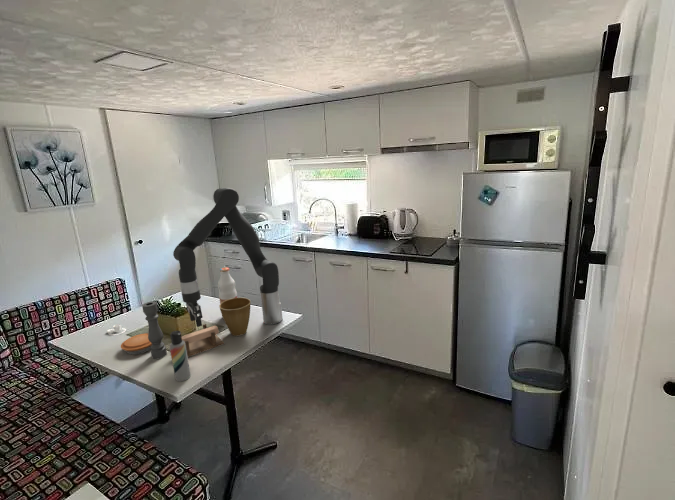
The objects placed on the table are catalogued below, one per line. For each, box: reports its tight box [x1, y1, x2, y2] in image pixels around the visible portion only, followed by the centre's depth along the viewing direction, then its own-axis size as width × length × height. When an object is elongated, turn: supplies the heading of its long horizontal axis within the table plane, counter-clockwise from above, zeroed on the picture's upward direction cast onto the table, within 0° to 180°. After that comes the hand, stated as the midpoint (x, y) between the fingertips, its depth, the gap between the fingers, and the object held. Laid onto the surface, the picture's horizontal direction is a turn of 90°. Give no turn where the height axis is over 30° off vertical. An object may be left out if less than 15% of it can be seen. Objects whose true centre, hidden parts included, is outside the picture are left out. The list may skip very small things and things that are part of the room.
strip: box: [181, 325, 220, 343], centre depth 165 cm, size 18×4×3 cm, turn 129°
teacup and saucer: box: [106, 323, 127, 336], centre depth 189 cm, size 9×8×4 cm
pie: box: [120, 332, 152, 355], centre depth 170 cm, size 16×16×5 cm
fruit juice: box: [217, 267, 238, 319], centre depth 197 cm, size 9×9×28 cm
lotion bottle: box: [169, 330, 192, 382], centre depth 142 cm, size 6×6×20 cm
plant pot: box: [218, 297, 251, 337], centre depth 178 cm, size 15×15×16 cm
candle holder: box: [141, 301, 168, 360], centre depth 160 cm, size 6×6×25 cm
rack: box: [185, 323, 225, 358], centre depth 168 cm, size 20×14×7 cm
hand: (196, 323), depth 164 cm, fingers open, 8 cm apart
